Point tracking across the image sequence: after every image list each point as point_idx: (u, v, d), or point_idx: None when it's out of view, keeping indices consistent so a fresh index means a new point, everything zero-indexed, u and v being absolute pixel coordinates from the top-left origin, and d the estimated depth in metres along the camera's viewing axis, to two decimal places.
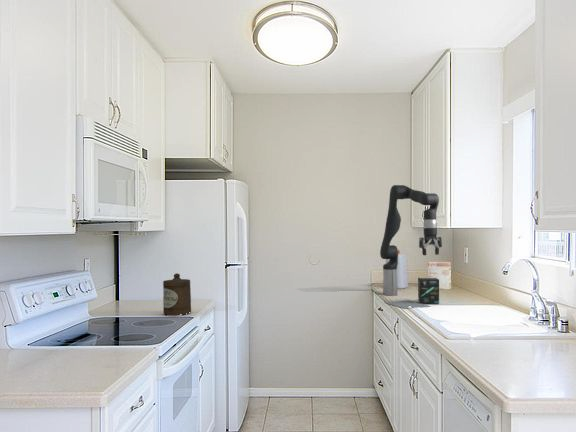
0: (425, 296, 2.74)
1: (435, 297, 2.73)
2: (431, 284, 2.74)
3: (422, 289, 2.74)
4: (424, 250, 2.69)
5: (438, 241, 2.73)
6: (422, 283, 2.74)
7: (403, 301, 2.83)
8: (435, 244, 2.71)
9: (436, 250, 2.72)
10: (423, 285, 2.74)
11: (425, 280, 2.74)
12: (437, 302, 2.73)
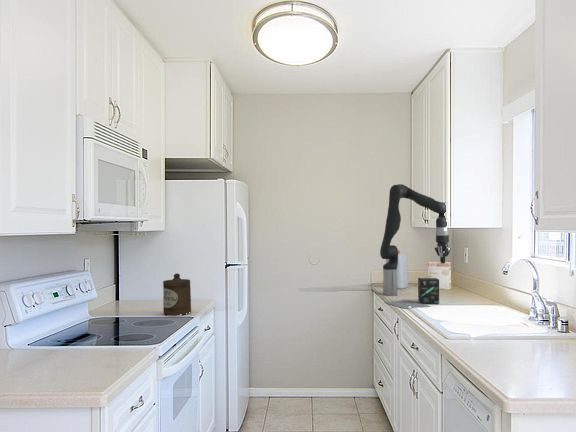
0: (425, 296, 2.74)
1: (435, 297, 2.73)
2: (431, 284, 2.73)
3: (422, 289, 2.74)
4: (444, 258, 2.81)
5: (438, 250, 2.86)
6: (422, 283, 2.74)
7: (403, 301, 2.83)
8: (443, 251, 2.83)
9: None
10: (423, 285, 2.74)
11: (425, 280, 2.74)
12: (437, 302, 2.73)
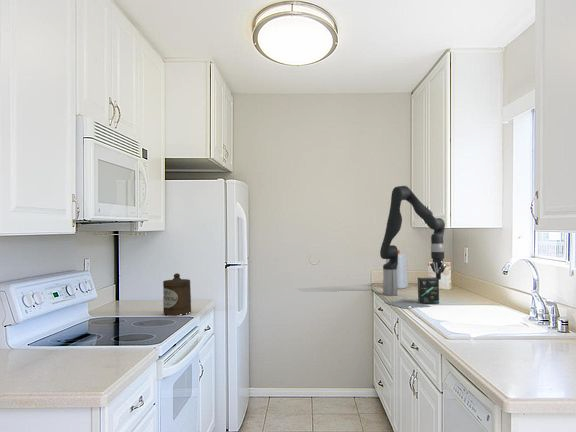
0: (425, 296, 2.74)
1: (435, 297, 2.73)
2: (430, 284, 2.73)
3: (422, 289, 2.74)
4: None
5: None
6: (422, 283, 2.74)
7: (403, 301, 2.83)
8: None
9: None
10: (422, 285, 2.74)
11: (425, 280, 2.74)
12: (437, 302, 2.73)
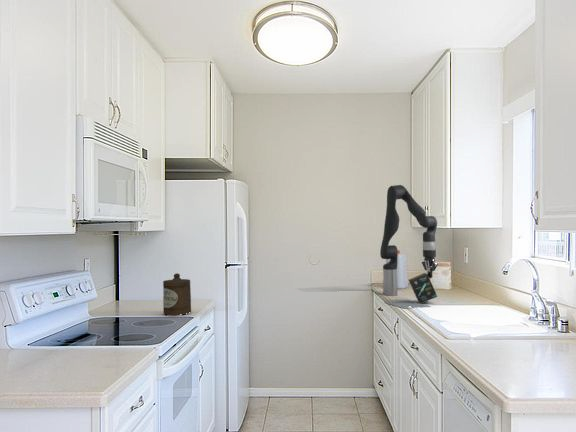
0: (422, 294, 2.74)
1: (431, 292, 2.74)
2: (422, 282, 2.74)
3: (416, 289, 2.74)
4: (431, 273, 2.78)
5: (425, 264, 2.83)
6: (414, 284, 2.75)
7: (403, 301, 2.83)
8: None
9: None
10: (415, 285, 2.75)
11: (415, 280, 2.75)
12: (435, 296, 2.73)
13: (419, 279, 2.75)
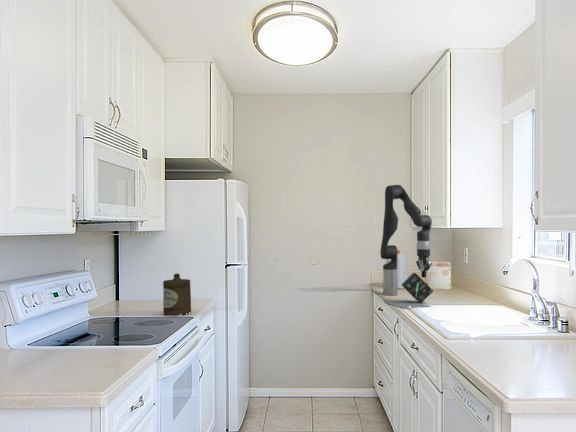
0: (419, 294, 2.74)
1: (426, 288, 2.74)
2: (414, 282, 2.75)
3: (411, 292, 2.75)
4: (425, 272, 2.77)
5: (419, 264, 2.81)
6: (407, 287, 2.75)
7: (403, 301, 2.83)
8: (424, 265, 2.78)
9: None
10: (409, 288, 2.75)
11: (407, 283, 2.75)
12: (431, 291, 2.74)
13: (410, 281, 2.75)
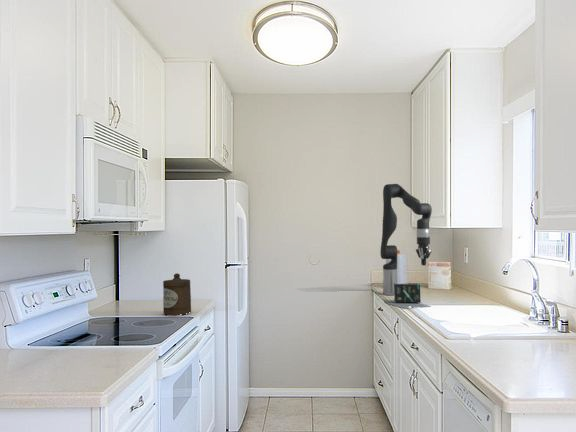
0: (413, 297, 2.74)
1: (413, 287, 2.75)
2: (401, 292, 2.76)
3: (406, 300, 2.75)
4: (425, 260, 2.77)
5: None
6: (400, 300, 2.75)
7: None
8: (424, 253, 2.78)
9: None
10: (401, 300, 2.75)
11: (396, 297, 2.76)
12: (418, 286, 2.75)
13: (397, 293, 2.76)
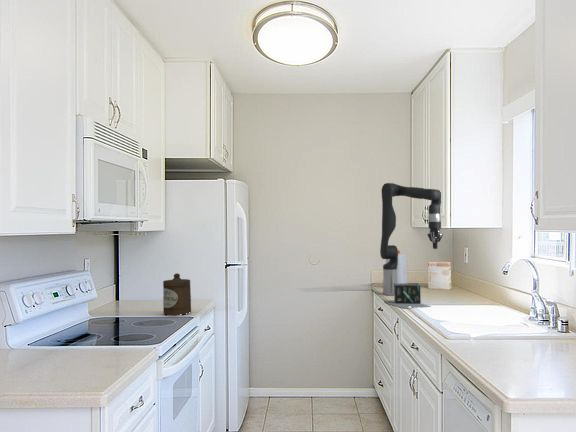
0: (413, 298, 2.74)
1: (413, 289, 2.74)
2: (401, 293, 2.75)
3: (406, 301, 2.75)
4: None
5: None
6: (400, 301, 2.75)
7: None
8: (436, 237, 2.90)
9: None
10: (402, 301, 2.75)
11: (397, 298, 2.75)
12: (418, 287, 2.74)
13: (397, 295, 2.75)
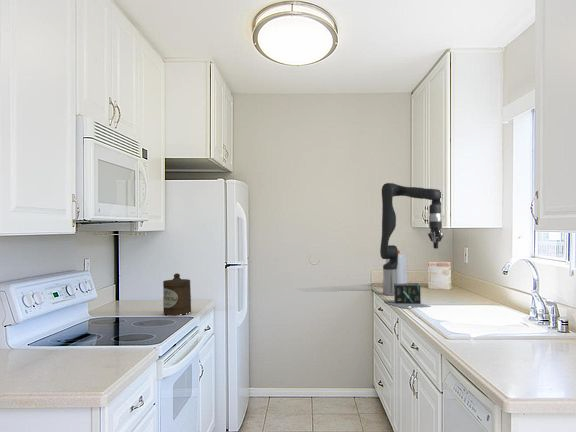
0: (413, 298, 2.74)
1: (413, 288, 2.74)
2: (401, 293, 2.75)
3: (406, 301, 2.75)
4: (437, 244, 2.89)
5: (431, 236, 2.94)
6: (400, 301, 2.75)
7: None
8: None
9: None
10: (402, 301, 2.75)
11: (397, 298, 2.75)
12: (418, 287, 2.74)
13: (397, 295, 2.75)
